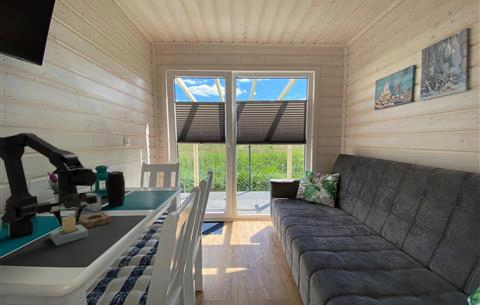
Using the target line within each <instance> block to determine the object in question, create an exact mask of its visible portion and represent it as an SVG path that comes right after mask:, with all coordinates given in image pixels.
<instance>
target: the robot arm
mask: <svg viewBox="0 0 480 305" xmlns="http://www.w3.org/2000/svg"><path fill="white" fill-rule="evenodd" d="M27 147H29V148H30V149H31V150H34V151H35V152H37V153H38V154H41V155H42V156H44V157H46V158H47V159H48V161H49V163H50V165H52V166H53V167H54V168H55V170H53V171H52V172H51V174H52V175H57V176H56V177H57V178H56V179H57V197H58V198H57V199H58V200H57V201H58V202H53V203H52V202H50V201H43V202H38V197H37V195H32V194H31V193H30V192H29V189H28V188H29V187H28V184H27V179H26V174H25V170H24V166H23V160H22V157H23V155H24V153H25V152H26V149H25V148H27ZM0 159H1V160H2V161H3V164H4V168H5V174H6V177H7V182H8V187H9V191H10V194H11V195H10V196H11V197H10V199H9V200H8V203H7V211H6V212H5V213H4V214H3V215H2V217H0V219H1V222H2V224H8V227H7V228H8V239H9V240H11V239H12V240H13V239H17V238H22V237H26V236H29V235H33V232H34V221H33V220H32V218H33V217H36V215H37V214H38V215H39V214H45V213H49V214H51V215H52V214H53V216H54V217H55V220H56V221H57V223H58V225H59V227H60V228H62V215H61V210H60V209H59V208H62V207H64V209H67V210H68V209H72V208H74V217H75V221H76V224H79V218H80V217H81V215H82V212H83V210H85V207H87V206H88V205H86V203H88V204H94V203H97V197H96V196H94V195H92V194H91V195H86V194H87V193H86V191H83V192H78V188H77V187H93V186H94V185H95V184H96V183H97V174H96V173H95V171H93V168H92V167H91V168H89V167H88V168H86V167H85V166H84V164H83V162H82V161H81V159H79V156H78V155H77V154H76V153H74V152H71V151H69V150H65V149H60V148H58V147H56V146H55V145H53V144H51V143H50V142H47V141H45V140H44V139H42V138H41V137H39V136H37V134H36V133H32V132H31V133H30V132H21V133H17V134H13V135H8V136H2V137H1V136H0Z"/></svg>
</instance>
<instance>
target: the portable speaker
mask: <svg viewBox="0 0 480 305" xmlns="http://www.w3.org/2000/svg"><path fill="white" fill-rule="evenodd" d="M106 176H107V179H106V197H107V204H108V205H109V206H110V207H112V208H116V207H119V206H120V205H124V203H125V196H126V181H125V176H124V172H123V171H119V170H118V171H116V170H115V171H114V170H113V171H111V172H107V175H106Z"/></svg>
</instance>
